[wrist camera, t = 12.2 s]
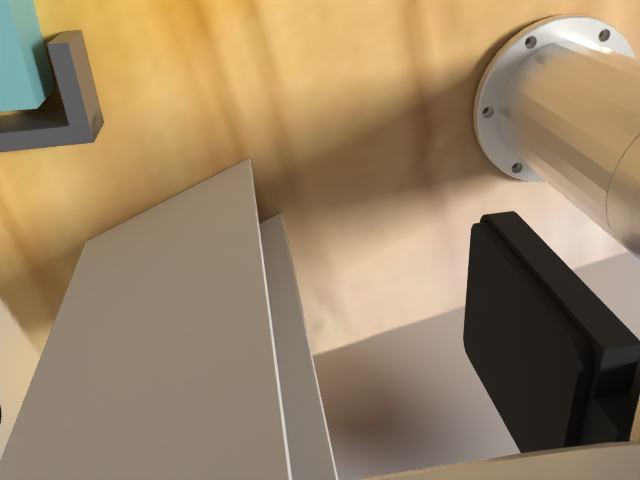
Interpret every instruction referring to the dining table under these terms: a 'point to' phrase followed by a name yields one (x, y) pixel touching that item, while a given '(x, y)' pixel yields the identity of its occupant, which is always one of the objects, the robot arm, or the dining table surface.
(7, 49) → the slat
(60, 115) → the end cap
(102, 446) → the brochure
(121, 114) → the dining table surface
